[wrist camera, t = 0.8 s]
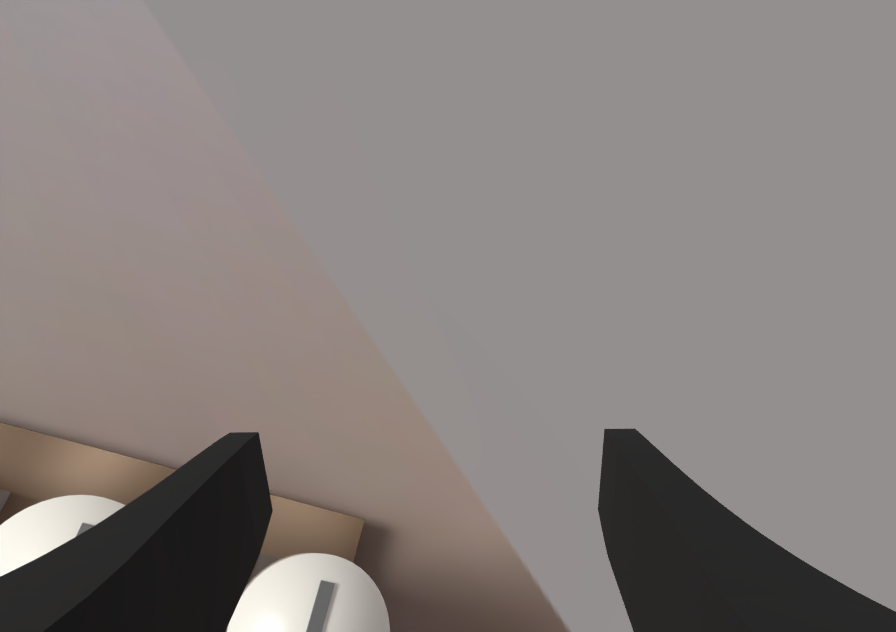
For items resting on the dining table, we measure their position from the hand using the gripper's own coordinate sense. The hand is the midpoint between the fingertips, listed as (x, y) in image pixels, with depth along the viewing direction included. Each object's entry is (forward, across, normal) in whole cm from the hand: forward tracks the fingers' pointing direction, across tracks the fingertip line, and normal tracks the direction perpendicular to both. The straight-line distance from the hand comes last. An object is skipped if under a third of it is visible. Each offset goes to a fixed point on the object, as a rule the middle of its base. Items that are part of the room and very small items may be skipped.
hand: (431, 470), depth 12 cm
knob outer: (+5, +6, +10) cm, 12 cm away
